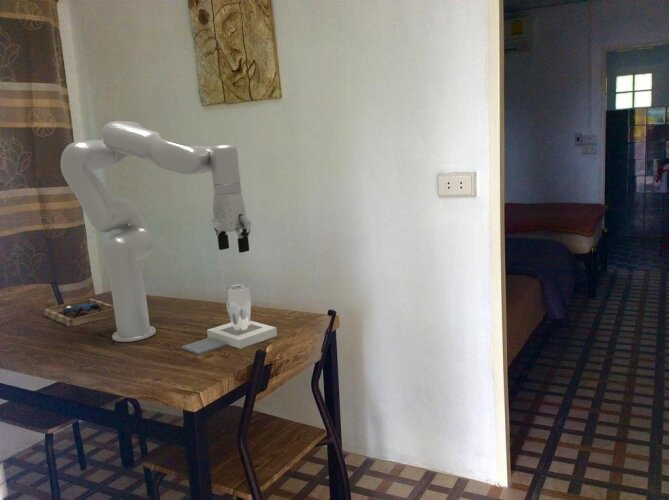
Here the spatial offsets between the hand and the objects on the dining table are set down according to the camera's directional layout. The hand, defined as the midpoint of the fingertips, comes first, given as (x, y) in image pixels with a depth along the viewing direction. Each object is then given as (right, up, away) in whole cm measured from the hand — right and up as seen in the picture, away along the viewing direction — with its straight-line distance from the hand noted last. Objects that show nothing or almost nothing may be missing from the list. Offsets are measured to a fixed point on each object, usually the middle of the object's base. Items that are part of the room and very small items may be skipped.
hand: (234, 250), depth 171 cm
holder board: (+2, -25, +5) cm, 26 cm away
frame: (-60, -23, +42) cm, 77 cm away
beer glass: (+2, -25, +5) cm, 26 cm away
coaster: (-8, -27, -2) cm, 28 cm away
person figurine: (-60, -23, +42) cm, 77 cm away
